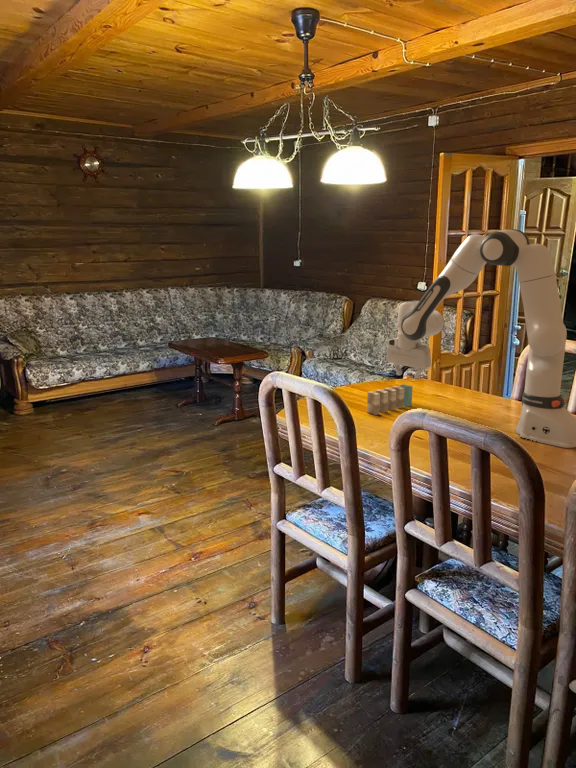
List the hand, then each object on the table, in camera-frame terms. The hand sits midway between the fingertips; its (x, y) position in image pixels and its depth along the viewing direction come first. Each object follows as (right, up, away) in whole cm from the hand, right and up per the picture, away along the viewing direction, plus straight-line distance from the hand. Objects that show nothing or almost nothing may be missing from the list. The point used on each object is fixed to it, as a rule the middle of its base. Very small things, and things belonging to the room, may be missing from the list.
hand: (408, 376), depth 233 cm
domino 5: (0, -11, +3) cm, 12 cm away
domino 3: (-8, -13, -2) cm, 15 cm away
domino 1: (-15, -14, -8) cm, 22 cm away
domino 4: (-4, -12, 0) cm, 13 cm away
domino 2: (-11, -13, -5) cm, 18 cm away
